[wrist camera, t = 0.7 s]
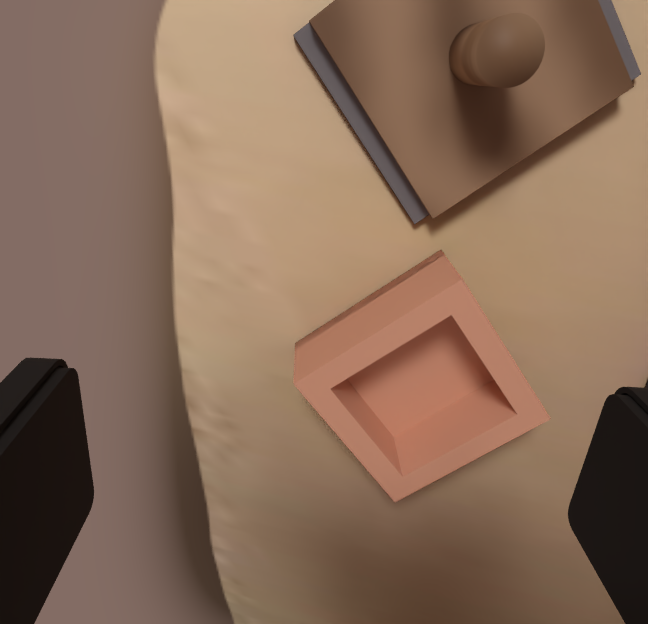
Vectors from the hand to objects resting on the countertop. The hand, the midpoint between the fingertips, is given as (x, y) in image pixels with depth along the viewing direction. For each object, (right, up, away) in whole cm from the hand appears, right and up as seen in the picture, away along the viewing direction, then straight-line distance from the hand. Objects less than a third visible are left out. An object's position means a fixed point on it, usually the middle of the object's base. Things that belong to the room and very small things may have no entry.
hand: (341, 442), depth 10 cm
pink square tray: (+5, -1, +26) cm, 27 cm away
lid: (+7, +16, +18) cm, 25 cm away
